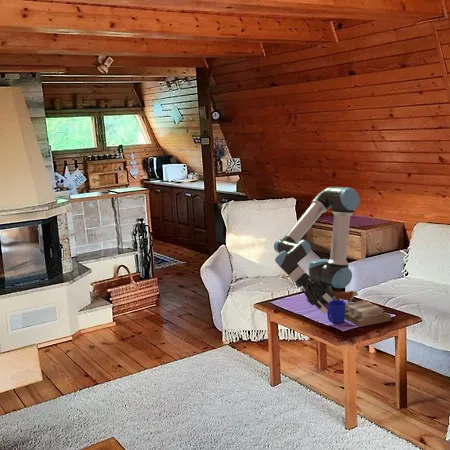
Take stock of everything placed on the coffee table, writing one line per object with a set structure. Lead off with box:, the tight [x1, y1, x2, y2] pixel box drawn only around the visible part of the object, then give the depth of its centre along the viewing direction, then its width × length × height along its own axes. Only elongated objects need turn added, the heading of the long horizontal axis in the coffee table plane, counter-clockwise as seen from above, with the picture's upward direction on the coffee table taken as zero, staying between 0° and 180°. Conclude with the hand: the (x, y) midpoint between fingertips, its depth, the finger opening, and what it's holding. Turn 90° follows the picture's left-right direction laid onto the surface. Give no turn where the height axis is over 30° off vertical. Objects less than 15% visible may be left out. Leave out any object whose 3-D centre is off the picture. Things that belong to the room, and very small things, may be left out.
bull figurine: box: [333, 289, 359, 304], centre depth 309 cm, size 4×13×8 cm, turn 78°
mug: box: [326, 299, 347, 324], centre depth 282 cm, size 8×12×10 cm
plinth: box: [345, 299, 392, 328], centre depth 287 cm, size 20×18×6 cm
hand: (329, 308), depth 281 cm, fingers open, 13 cm apart
